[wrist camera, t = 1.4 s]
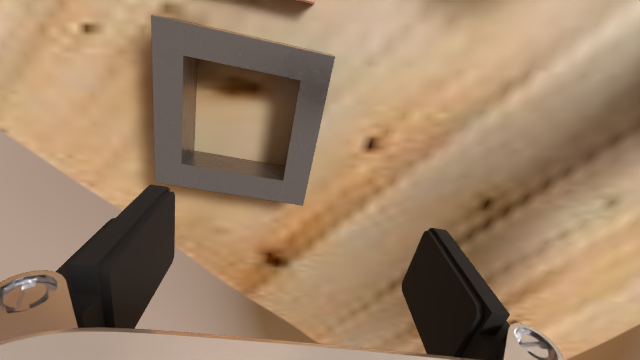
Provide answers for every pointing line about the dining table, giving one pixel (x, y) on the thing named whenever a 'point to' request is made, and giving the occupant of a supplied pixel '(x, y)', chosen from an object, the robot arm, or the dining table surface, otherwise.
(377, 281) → the dining table surface
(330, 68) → the grey square frame
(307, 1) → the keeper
